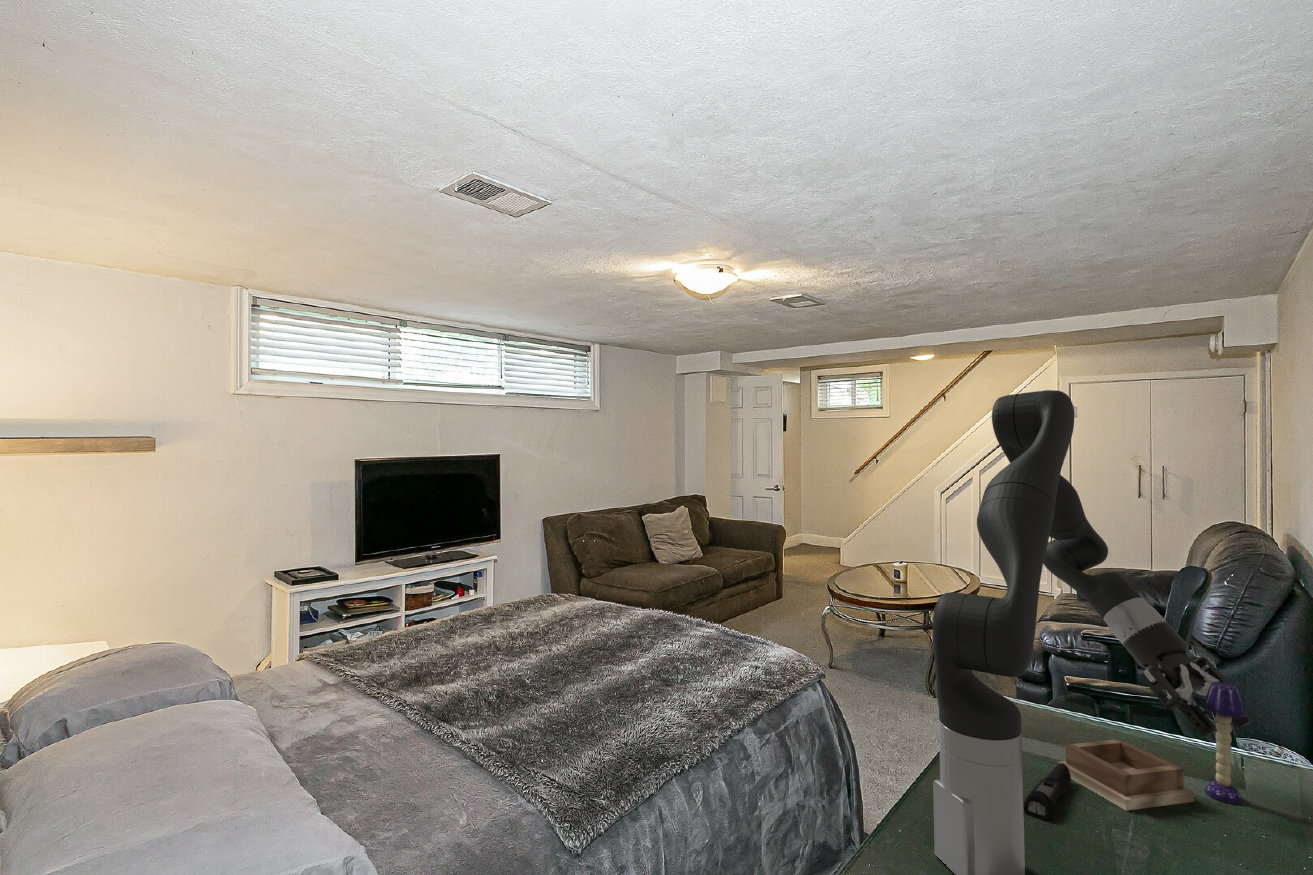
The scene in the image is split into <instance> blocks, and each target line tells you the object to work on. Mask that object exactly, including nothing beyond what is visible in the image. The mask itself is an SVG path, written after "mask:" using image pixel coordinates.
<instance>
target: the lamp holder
mask: <svg viewBox="0 0 1313 875" xmlns="http://www.w3.org/2000/svg"><path fill="white" fill-rule="evenodd" d="M1059 763H1064V764H1065V765H1066V766H1067V767H1068V769H1069V772H1070V775H1071V780H1072V781H1074V782H1075V783H1078V784H1079V785H1081V786H1083V787H1084V788H1086V789H1088V790H1090V791H1092V792H1093V793H1095V794H1096V793H1097V795H1098V796H1100V797H1102V798H1103V797H1104V799H1105V800H1107V801H1108V802H1111V803H1112V804H1114V805H1115V806H1118V807H1119V808H1120V809H1122V810H1124V811H1133V810H1141V809H1147V808H1148V809H1149V808H1157V807H1162V806H1172V805H1179V804H1188V803H1194V802H1195V796H1194V794H1195V792H1194V790H1192V789H1189V787H1186V786H1184V768H1183V767H1181V766H1179V765H1176V764H1174V763H1172V762H1169V761H1168V760H1165V759H1164V758H1161V757H1159V756H1157V755H1155V754H1153V753H1151V752H1148V751H1146V750H1144V749H1142V748H1140V747H1137V746H1136V745H1134V744H1131V743H1129V742H1126V741H1125V740H1122V739H1120V738H1117V739H1107V740H1099V741H1087V742H1080V743H1079V742H1078V743H1069V744H1065V760H1061V761H1058V762H1057V765H1058V764H1059Z"/></svg>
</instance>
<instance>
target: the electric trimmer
mask: <svg viewBox="0 0 1313 875" xmlns="http://www.w3.org/2000/svg"><path fill="white" fill-rule="evenodd" d="M1071 780H1072V779H1071V775H1070V772H1069V769H1068V767H1067V766H1066V765H1065V764H1064V763H1059V764H1058V763H1057V764H1056V765H1055V766H1054V768H1053V769H1051V771H1050V772H1049V773H1048V774H1047V775H1046V776H1045V777H1043V778H1042V779H1041V780H1040V781H1039V782H1038V783H1037V784H1036V785H1035V786H1034V787H1033V788H1032V790H1030V791H1029V793H1028V795H1026V797H1025V799H1024V800H1023V813H1024V814H1025V815H1027V816H1029V817H1032V818H1035V819H1038V820H1040V821H1041V820H1042V821H1043V822H1048V821H1052V819H1053V817H1054V813H1055V809H1054V807H1055V804H1057V801H1058V799H1064V798H1066V796H1067V794H1068V791H1069V788H1070V784H1071Z"/></svg>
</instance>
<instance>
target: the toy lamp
mask: <svg viewBox="0 0 1313 875" xmlns="http://www.w3.org/2000/svg"><path fill="white" fill-rule="evenodd" d="M1203 707H1204V708H1205V710H1207V711H1209V712H1211V713H1214V714H1215V717H1216V720H1217V721H1216V724H1215V727H1216V728H1217V730H1216V731H1215V732H1216V734H1215V739H1216V742H1215V750H1216V751H1217V752H1216V753H1215V760H1216V764H1215V771H1216V773H1215V781H1214V780H1213V781H1209V782H1208V783H1207V784H1206V786H1205V788H1204V792H1205V794H1206V795H1207V796H1209V797H1211V798H1213V799H1216V800H1218V801H1221V802H1223V803H1229V804H1233V805H1234V804H1241V803H1243V799H1244V798H1243V796H1242V794H1241V792H1240V791H1239V790H1238V788H1236V787H1234V785H1232V779H1231V776H1230V775H1231V774H1232V767H1231V764H1232V756H1231V754H1232V749H1233V748H1232V745H1231V743H1232V734H1231V733H1232V728H1233V727H1232V725H1231V723H1232V717H1243V716H1245V713H1246V712H1245V708H1244V707H1245V706H1244V704H1243V700H1242V698H1241V693H1240V692H1239V689H1238V687H1237V686H1236V685H1234V684H1232V683H1231V684H1228V683H1224V682H1220V681H1217V682H1212V683H1211V685H1210V688H1209V691H1208V693H1207V696H1205V700H1204V702H1203Z"/></svg>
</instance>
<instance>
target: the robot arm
mask: <svg viewBox="0 0 1313 875" xmlns="http://www.w3.org/2000/svg"><path fill="white" fill-rule="evenodd" d="M993 403H994V404H993V406H992V410H991V424H992V430H993V431H994V432H993V434H995V438H996V441H997V443H998V444H999V447H1000V448H1001V450H1002V451H1003V453H1004V456H1005V457H1006V459H1007V460H1008V462H1009V464H1008V465H1006V466H1005V467H1004V468H1002V469H1001V470H1000V471H999V472H998V473H997V474H995V476H994V477H993V478H991V479H990V481H989V483H988V484H987V485H986V487H985V489H984V491H983V495H982V499H981V501H980V506H979V510H978V512H977V517H976V528H977V532H978V535H979V536H980V539H981V541H982V543H983V544H984V545H983V546H984V547H985V548H986V550H987V551H988V553H989V555H990V556H991V557H992V559H993V560H994V562H995V564H996V565H997V567H998V569H999V571H1000V572H1001V574H1002V577H1003V579H1004V581H1005V584H1006V587H1007V588H1006V593H1005V595H1004V596H1003V597H996V596H995V597H994V596H987V595H979V594H972V593H962V592H954V591H953V592H952V591H951V592H945V593H943V594H942V595H940V596H939V598H938V600H937V602H936V604H935V606H934V611H933V616H932V641H933V642H932V643H933V654H934V667H935V679H936V680H935V682H936V683H935V684H936V700H937V705H938V706H937V707H938V721H939V722H938V724H939V725H938V726H939V729H938V730H939V778H938V779H934V780H933V784H932V786H933V788H932V789H933V791H932V793H933V796H932V797H933V833H934V834H933V836H934V839H933V840H934V841H933V842H934V847H933V848H934V856H935V855H936V856H937V857H938V858H939V859H940V860H942V862H943V863H944V864H946V866H947V867H948V868H949V869H950V870H951V871H952V872H953V873H955V874H956V875H1026V873H1025V872H1026V867H1025V863H1026V860H1025V828H1024V827H1025V825H1024V824H1025V823H1024V821H1025V820H1024V808H1023V807H1024V784H1023V782H1024V779H1023V778H1024V777H1023V740H1022V739H1023V734H1022V715H1021V710H1020V709H1019V707H1018V706H1017V705H1016V704H1015V703H1014V702H1013V701H1012V700H1011V699H1009V698H1007V697H1006V696H1004V695H1002V694H1000V693H999V692H997V691H995V690H994V689H992V688H991V687H989V686H987V685H986V684H985V683H983V682H982V681H981V680H980V679H979V678H978V677H977V676H976V674H974V672H973V671H975V672H981V673H985V674H989V675H995V676H1001V677H1006V678H1007V677H1008V678H1019V677H1021V676H1023V675H1024V674H1025V673H1026V672H1027V670H1028V668H1029V665H1030V664H1031V660H1032V657H1033V651H1034V647H1035V646H1034V645H1035V639H1036V638H1035V637H1036V629H1037V617H1038V605H1039V604H1038V603H1039V598H1040V596H1039V594H1040V587H1041V579H1042V578H1041V577H1042V572H1043V568H1044V567H1045V568H1046V569H1047V570H1048V571H1049V572H1050V573H1051V574H1052V575H1054V576H1055V577H1056V578H1058V579H1059V580H1060V581H1062V582H1063V583H1065V584H1066V585H1067V586H1069V587H1070V588H1072V589H1073V590H1074V591H1075V592H1077V593H1078V594H1079V595H1081V596H1082V597H1083V598H1084V599H1085V600H1086V601H1087V602H1088V603H1089V604H1090V605H1091V607H1092V608H1093V609H1094V610H1095V611H1096V613H1097V614H1098V615H1099V616H1100V617H1101V619H1102V620H1103V621H1104V623H1106V625H1107V627H1108V628H1109V630H1110V631H1111V632H1112V634H1113V635H1114V636H1115V638H1117V640H1118V641H1119V643H1121V645H1122V646H1123V647H1124V648H1125V649H1126V650H1127V652H1128V653H1129V654H1130V655H1131V656H1132V657H1133V659H1134V660H1135V661H1136V663H1137V664H1138V665H1139V666H1140V667H1141V669H1142V668H1143V669H1145V670H1144V671H1141V672H1140V673H1139V676H1140V677H1141V679H1142V680H1143V681H1144V683H1145V684H1146V685H1147V686H1148V687H1149V689H1150V691H1152V693H1153V694H1154V695H1155V697H1156V698H1157V699H1158V701H1159V702H1160V703H1161V704H1162V705H1163V706H1164V708H1165V709H1166V710H1168V711H1171V710H1176V712H1178V713H1182V714H1183V715H1184V717H1185V718H1186V719H1187V720H1188V721H1189V722H1190V723H1191V725H1192V726H1193V727H1194V728H1195V730H1196V731H1198V732H1199V733H1200V735H1202V736H1204V737H1206V736H1210V735H1211V734H1213V733H1215V732H1217V731H1218V730H1217V728H1216V724H1214V723H1213V722H1212V720H1210V719H1209V717H1208V716H1207V715H1206V714H1205V713H1204V711H1202V709H1201V708H1200V707H1199V706H1198V704H1197V705H1195V704H1196V703H1195V701H1194V698H1193V694H1192V693H1195V694H1198V695H1199V696H1205V697H1206V696H1207V693H1208V691H1209V688H1210V685H1211V683H1212V682H1224V683H1228V684H1232V683H1231V682H1230V681H1229V680H1228V679H1227V678H1226V676H1224V675H1223V673H1221V672H1220V671H1219V670H1218V669H1217V668H1216V667H1215V666H1214V664H1213V663H1211V661H1210V660H1209V659H1208V658H1207V657H1205V656H1202V655H1201V656H1200V657H1198V658H1197V659H1195V660H1193V659H1192V658H1190V657H1189V656H1188V655H1187V653H1186V651H1188V650H1187V649H1188V648H1189V646H1188V644H1187V642H1186V641H1185V640H1184V639H1183V638H1182V637H1181V636H1180V635H1179V634H1178V633H1177V631H1176V630H1175V629H1174V628H1173V627H1172V626H1171V625H1170V624H1169V622H1168V621H1167V620H1166V619H1165V618H1164V617H1163V616H1162V615H1161V614H1160V613H1159V611H1157V609H1155V608H1154V607H1153V606H1152V605H1151V604H1150V603H1149V602H1148V601H1146V599H1144V597H1142V596H1141V595H1140V594H1139V592H1138V591H1137V590H1136V589H1135V588H1134V587H1133V586H1132V585H1131V584H1130V582H1129V581H1128V580H1127V579H1126V578H1125V577H1124V576H1123V575H1121V574H1120V573H1118V572H1111V571H1109V572H1105V573H1100V574H1094V575H1093V574H1087V573H1085V571H1088V570H1090V569H1092V568H1095V567H1097V566H1098V565H1100V564H1103V563H1104V562H1105V561H1106V560H1107V558H1108V555H1109V547H1108V545H1107V543H1106V542H1105V541H1104V539H1103V538H1102V537H1101V536H1100V534H1099V533H1097V531H1096V530H1095V529H1094V527H1093V526H1092V525H1091V523H1090V522H1089V520H1088V518H1087V517H1086V514H1085V511H1084V508H1083V505H1082V502H1081V498H1080V496H1079V494H1078V491H1077V490H1076V488H1075V487H1074V486H1073V484H1072V483H1071V482H1070V481H1069V480H1068V479H1067V478H1065V477H1064V476H1063V475H1062V474H1061V472H1062V468H1063V465H1064V462H1065V459H1066V457H1067V453H1068V450H1069V446H1070V444H1071V441H1072V437H1073V433H1074V427H1075V408H1074V404H1073V401H1072V399H1071V398H1070V396H1069V395H1068V394H1067V393H1065V392H1064V391H1062V390H1056V389H1053V390H1051V389H1047V390H1037V391H1029V392H1022V393H1014V394H1007V395H1003V396H1000V397H998V398H997V399H996V400H995V402H993ZM1050 538H1051V539H1053V540H1051V541H1049V539H1050ZM1164 692H1166V694H1167V695H1165V694H1164ZM1231 723H1233V725H1234V726H1235V727H1236V728H1242V727H1245V726H1247V725H1249V724H1250V723H1252V719H1251V717H1250V716H1249V715H1248V713H1246V712H1245V716H1243V717H1232V721H1231ZM936 856H935V857H936ZM937 857H936V858H937ZM938 858H937V859H938ZM939 859H938V860H939ZM940 860H939V861H940ZM942 862H941V863H942ZM943 863H942V864H943ZM944 864H943V865H944ZM946 866H945V867H946ZM947 867H946V868H947ZM948 868H947V869H948ZM949 869H948V870H949ZM950 870H949V871H950ZM951 871H950V872H951ZM952 872H951V873H952ZM953 873H952V874H953ZM955 874H954V875H955Z"/></svg>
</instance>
